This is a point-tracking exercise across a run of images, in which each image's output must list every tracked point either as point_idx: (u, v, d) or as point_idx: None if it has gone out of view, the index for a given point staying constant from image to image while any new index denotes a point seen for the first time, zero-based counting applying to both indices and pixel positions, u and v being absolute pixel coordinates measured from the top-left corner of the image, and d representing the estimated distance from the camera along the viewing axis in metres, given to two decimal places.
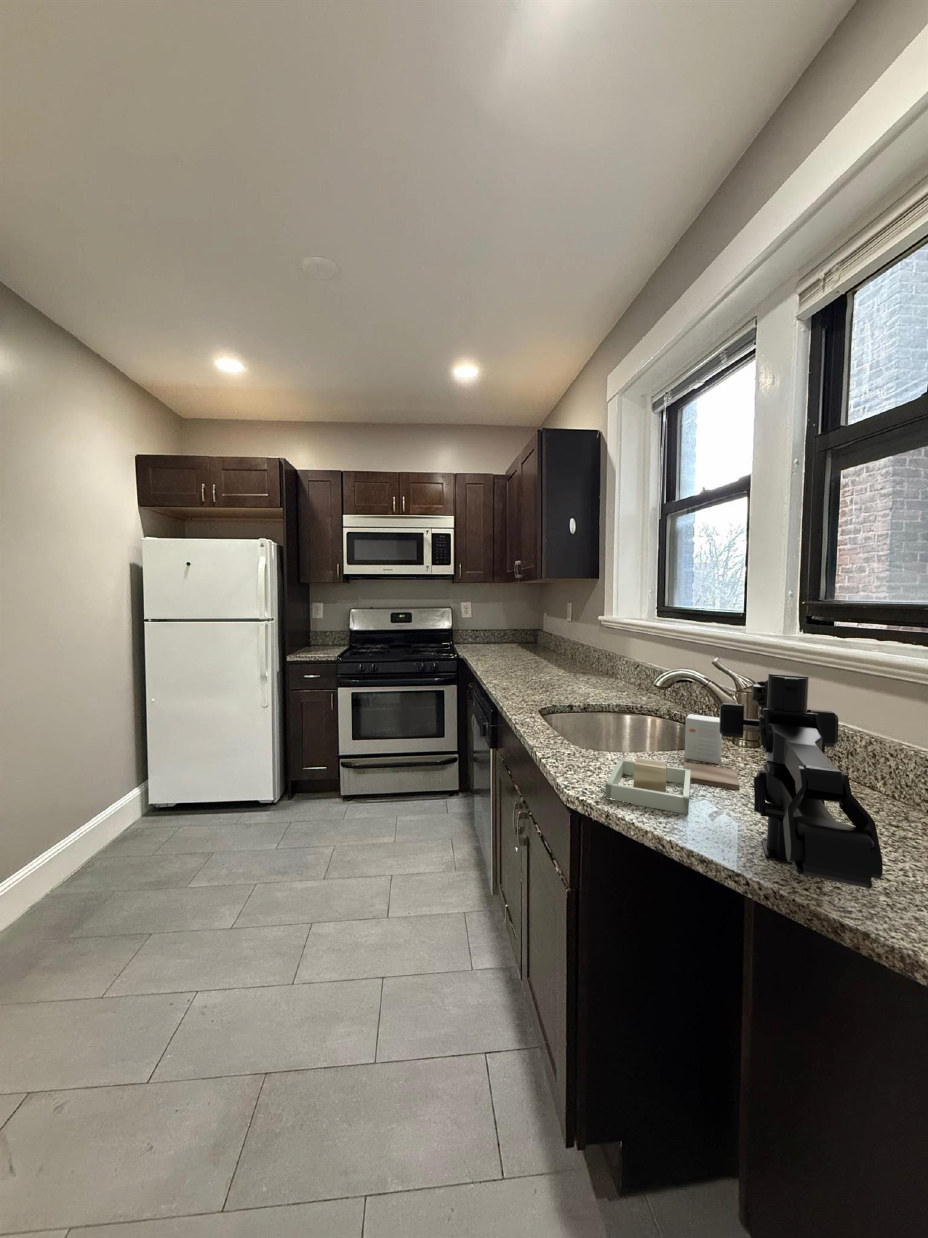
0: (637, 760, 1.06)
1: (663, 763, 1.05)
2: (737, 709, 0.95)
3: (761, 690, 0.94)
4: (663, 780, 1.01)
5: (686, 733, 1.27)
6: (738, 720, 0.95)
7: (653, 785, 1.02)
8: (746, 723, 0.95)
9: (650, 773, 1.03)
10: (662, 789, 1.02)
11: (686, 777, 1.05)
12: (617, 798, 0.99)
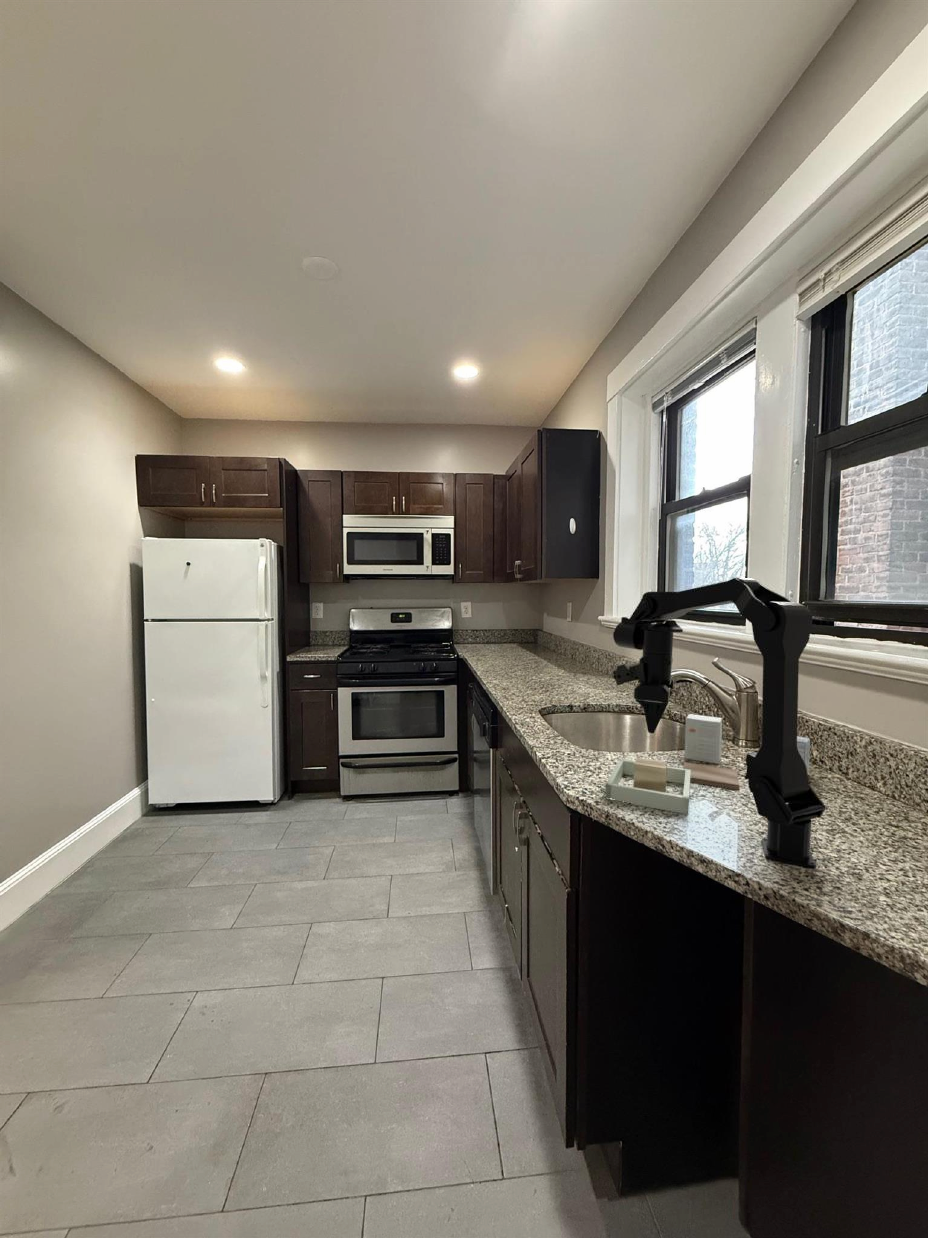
0: (637, 760, 1.06)
1: (663, 763, 1.05)
2: (639, 684, 0.99)
3: None
4: (663, 780, 1.02)
5: (686, 733, 1.27)
6: (650, 684, 0.98)
7: (653, 785, 1.02)
8: None
9: (650, 773, 1.03)
10: (662, 789, 1.02)
11: (686, 777, 1.05)
12: (617, 798, 0.99)
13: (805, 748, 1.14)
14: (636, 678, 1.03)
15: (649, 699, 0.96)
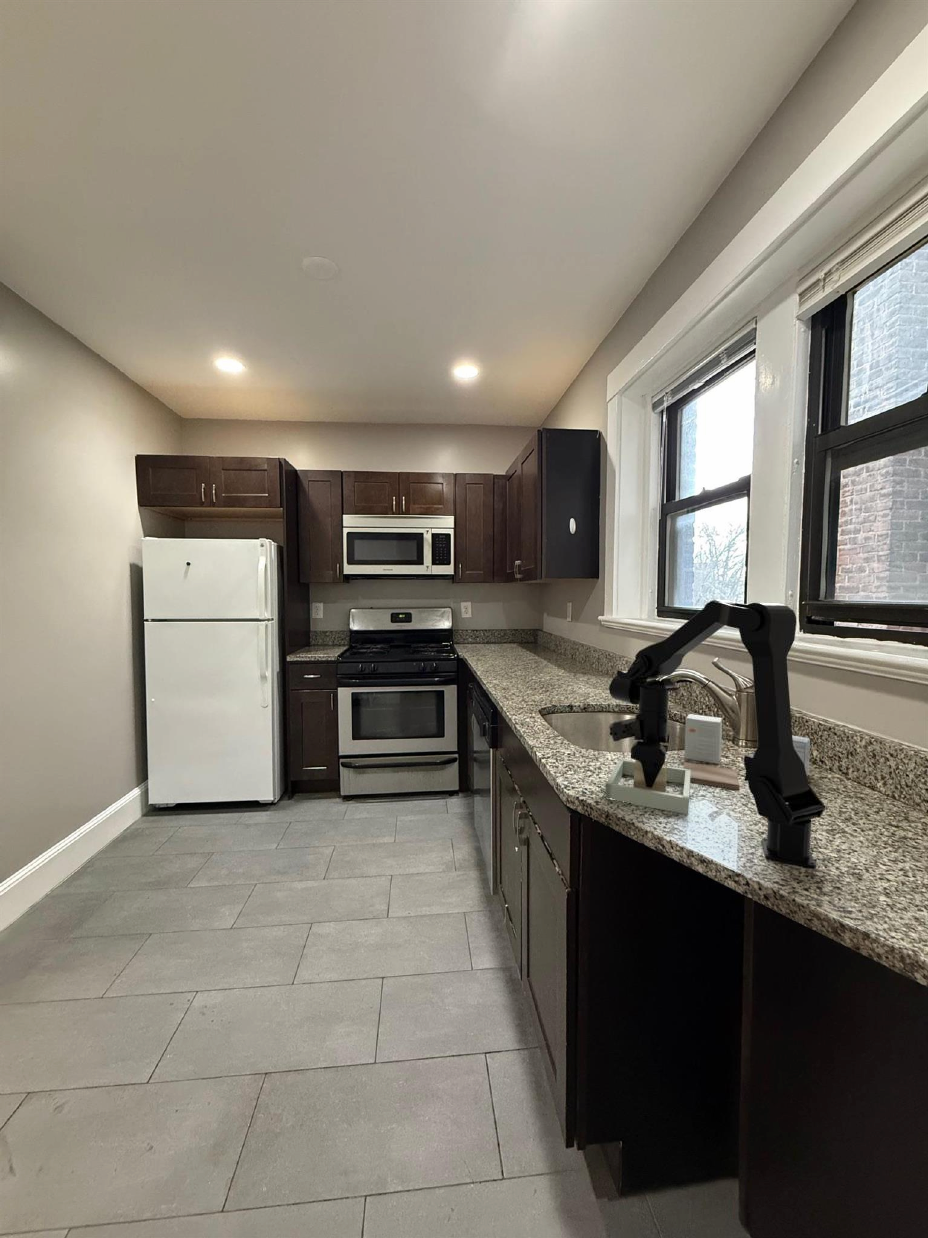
0: (637, 760, 1.06)
1: None
2: (635, 743, 1.00)
3: None
4: (663, 780, 1.02)
5: (686, 733, 1.27)
6: (647, 743, 0.99)
7: (653, 785, 1.02)
8: None
9: None
10: (662, 789, 1.02)
11: (686, 777, 1.05)
12: (617, 798, 0.99)
13: (805, 748, 1.14)
14: (632, 735, 1.04)
15: (646, 760, 0.96)
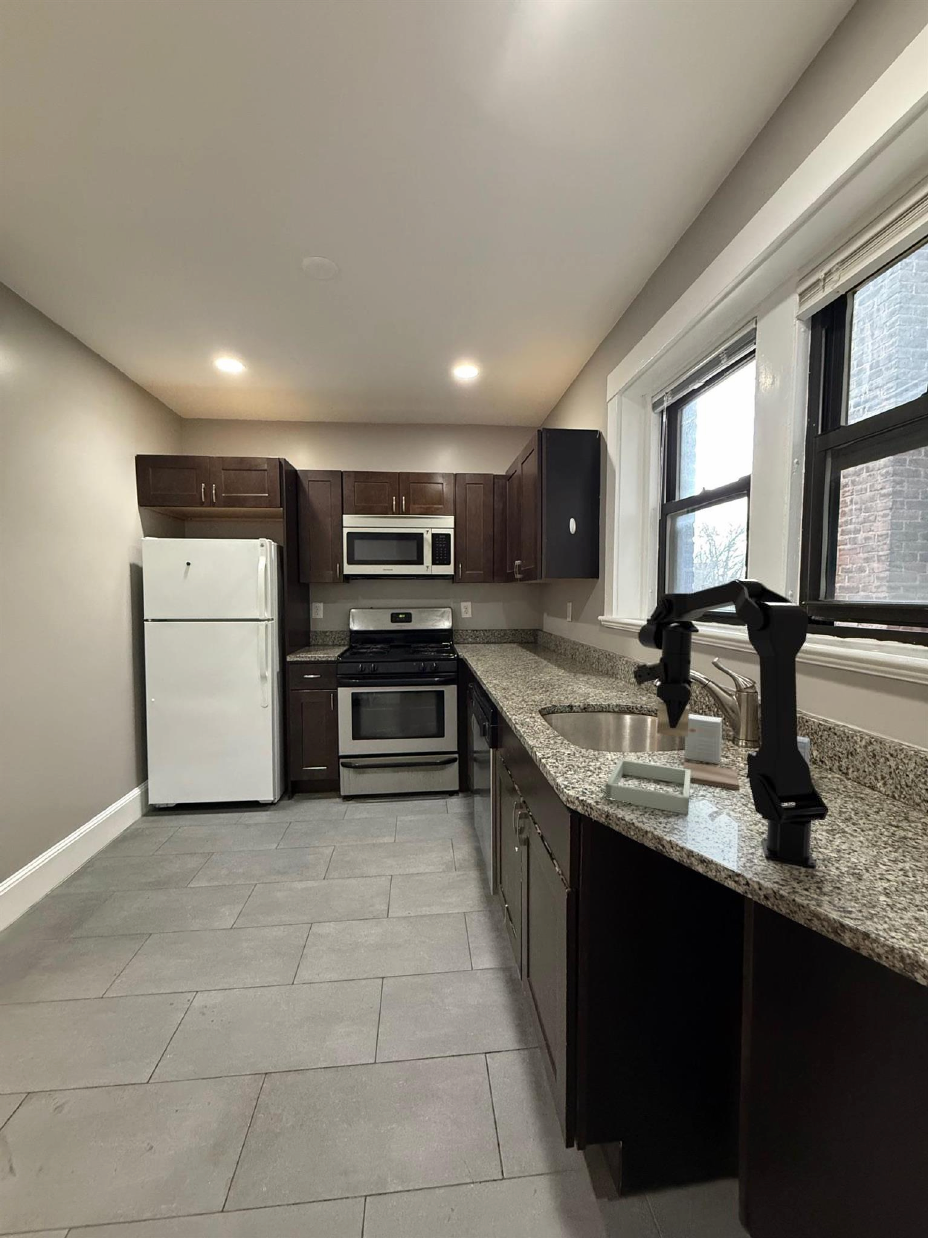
0: (660, 703, 1.09)
1: None
2: (661, 683, 1.02)
3: None
4: (686, 720, 1.04)
5: None
6: (672, 682, 1.01)
7: None
8: None
9: None
10: (685, 729, 1.04)
11: (686, 777, 1.05)
12: (617, 798, 0.99)
13: (805, 748, 1.14)
14: (656, 677, 1.06)
15: (672, 697, 0.99)
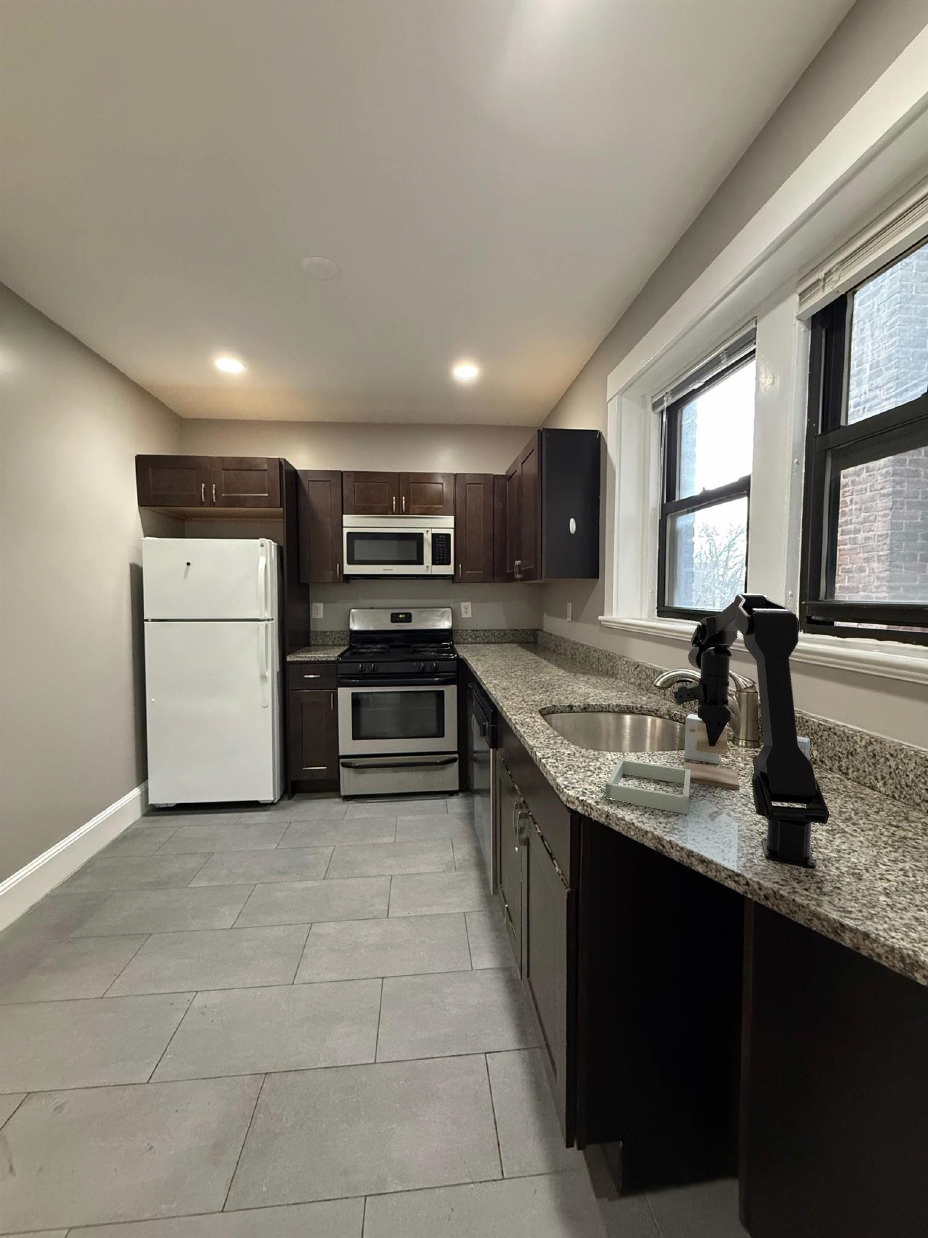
0: (698, 722, 1.15)
1: None
2: (701, 704, 1.08)
3: None
4: (725, 738, 1.10)
5: (686, 733, 1.27)
6: (712, 704, 1.08)
7: None
8: None
9: None
10: (724, 747, 1.10)
11: (686, 777, 1.05)
12: (617, 798, 0.99)
13: (805, 748, 1.14)
14: (696, 698, 1.13)
15: (712, 718, 1.05)
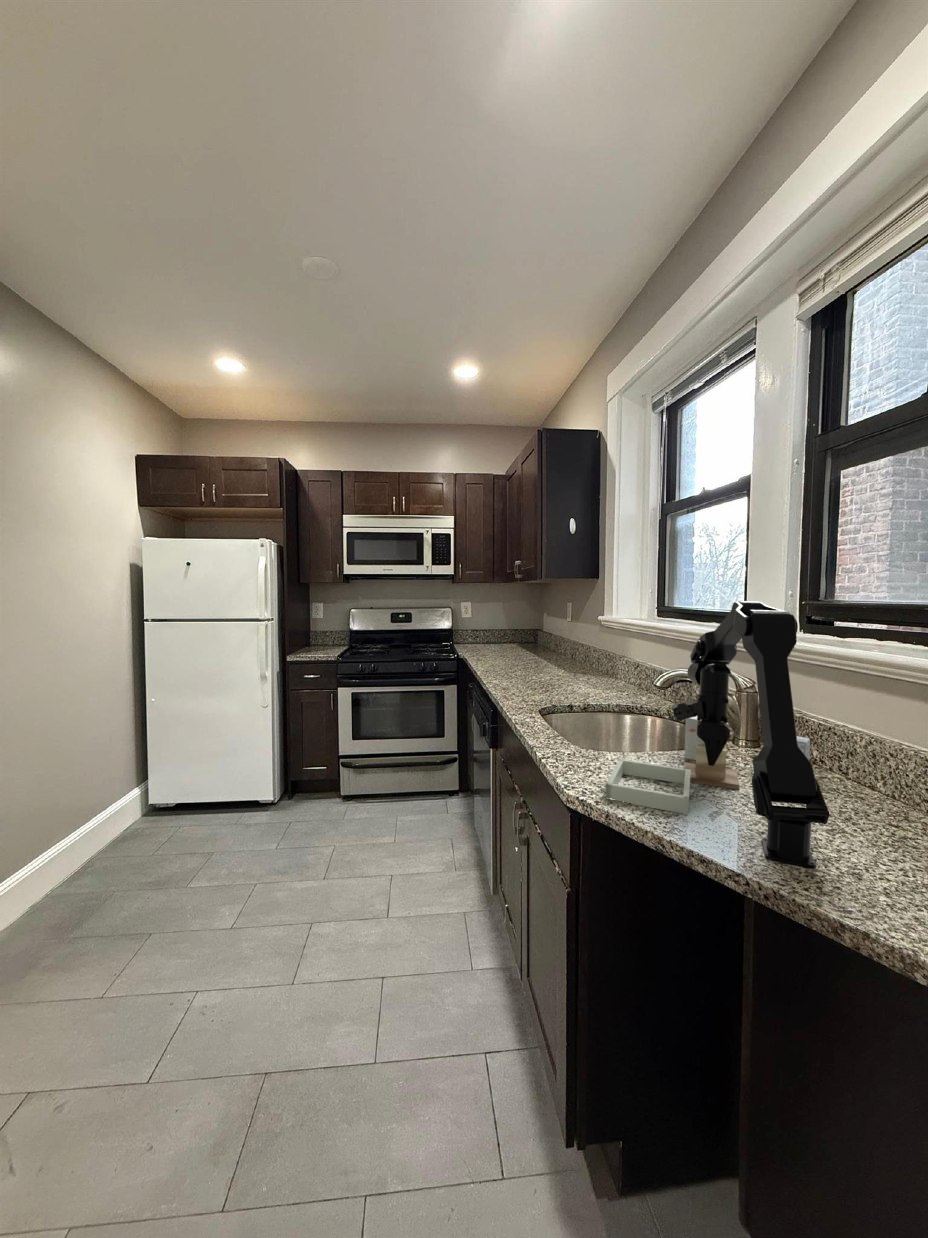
0: (698, 744, 1.15)
1: None
2: (700, 721, 1.09)
3: None
4: (724, 762, 1.11)
5: (686, 733, 1.27)
6: (711, 721, 1.08)
7: (714, 767, 1.11)
8: None
9: None
10: (723, 770, 1.11)
11: (686, 777, 1.05)
12: (617, 798, 0.99)
13: (805, 748, 1.14)
14: (695, 715, 1.13)
15: (712, 736, 1.05)
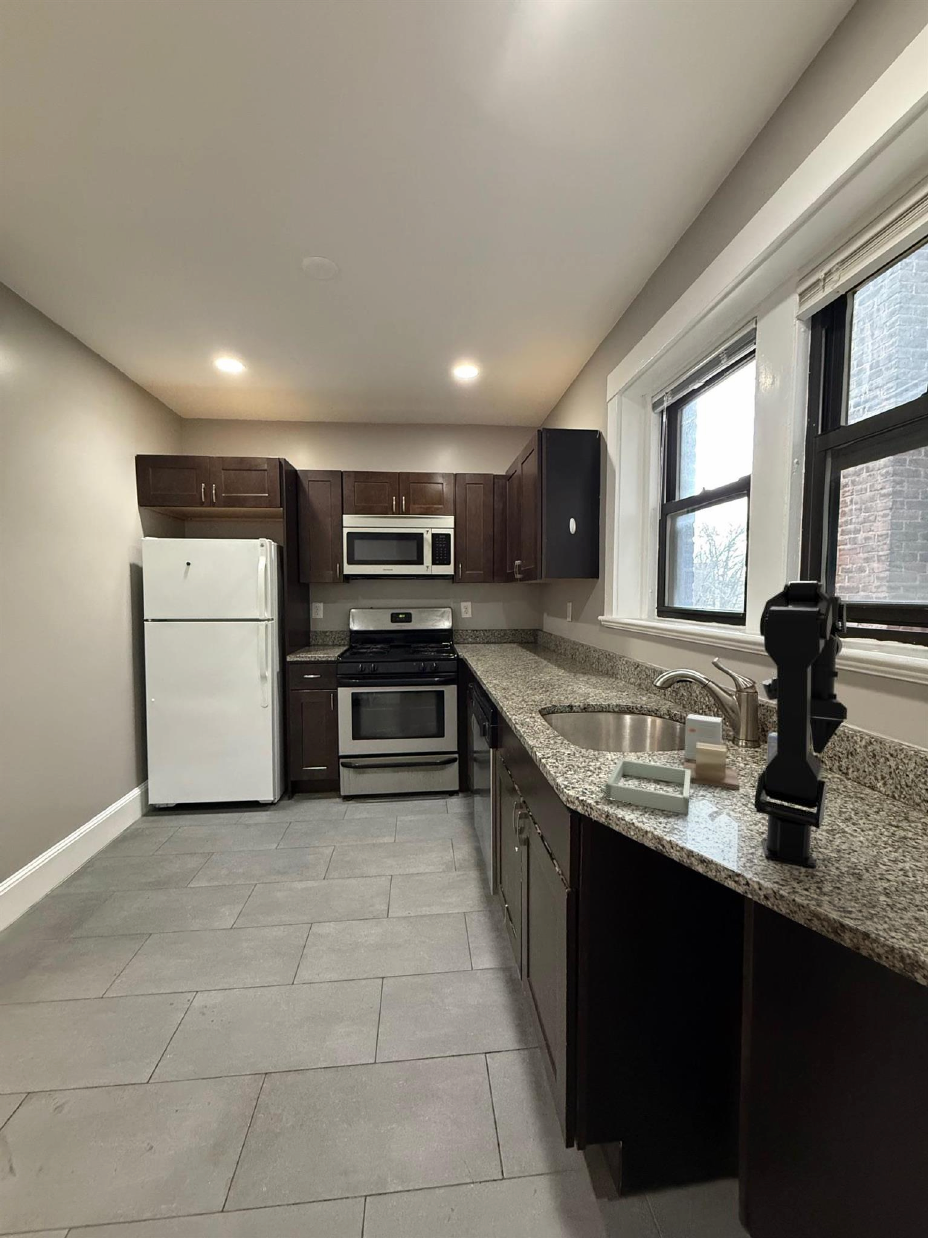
0: (698, 744, 1.15)
1: (723, 747, 1.14)
2: None
3: None
4: (724, 762, 1.11)
5: (686, 733, 1.27)
6: (819, 698, 0.88)
7: (714, 767, 1.11)
8: None
9: (711, 756, 1.12)
10: (723, 770, 1.11)
11: (686, 777, 1.05)
12: (617, 798, 0.99)
13: None
14: None
15: (823, 716, 0.86)
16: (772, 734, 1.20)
